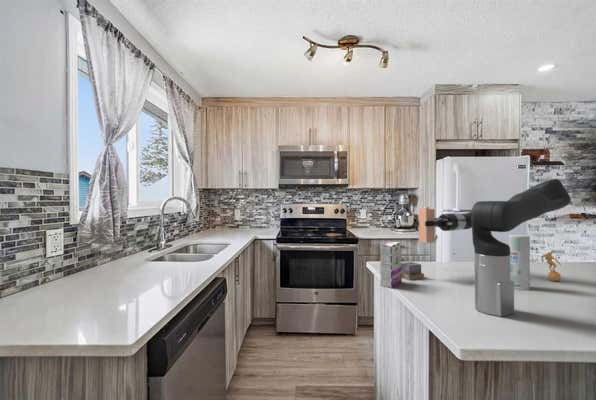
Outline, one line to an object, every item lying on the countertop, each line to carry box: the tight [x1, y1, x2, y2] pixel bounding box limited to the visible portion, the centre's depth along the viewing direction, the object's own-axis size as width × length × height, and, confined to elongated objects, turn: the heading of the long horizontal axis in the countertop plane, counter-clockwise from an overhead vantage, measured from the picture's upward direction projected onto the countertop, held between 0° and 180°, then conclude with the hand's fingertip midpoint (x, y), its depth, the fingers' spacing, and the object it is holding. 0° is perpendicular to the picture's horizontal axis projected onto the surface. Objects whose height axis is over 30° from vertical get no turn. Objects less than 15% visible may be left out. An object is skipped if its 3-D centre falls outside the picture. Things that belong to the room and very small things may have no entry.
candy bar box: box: [379, 241, 403, 289], centre depth 123 cm, size 11×5×16 cm, turn 143°
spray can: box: [508, 234, 531, 291], centre depth 117 cm, size 6×6×20 cm
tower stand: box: [401, 261, 425, 281], centre depth 134 cm, size 8×8×6 cm
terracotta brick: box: [417, 206, 436, 244], centre depth 131 cm, size 4×4×15 cm
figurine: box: [540, 251, 562, 282], centre depth 126 cm, size 8×6×12 cm
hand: (421, 223), depth 130 cm, fingers closed on terracotta brick, 4 cm apart
